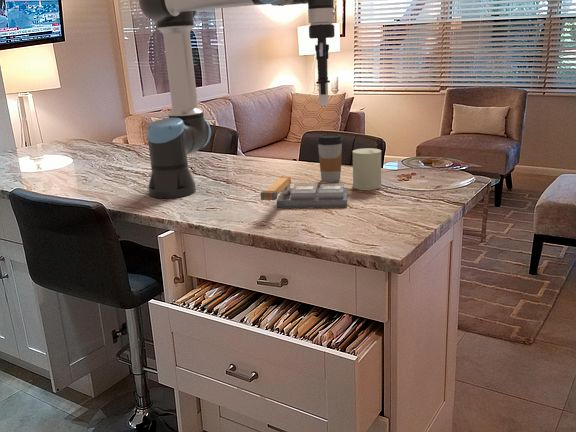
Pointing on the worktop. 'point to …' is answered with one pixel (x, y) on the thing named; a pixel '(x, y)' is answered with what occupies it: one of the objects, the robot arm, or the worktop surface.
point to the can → (367, 169)
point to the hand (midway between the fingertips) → (323, 105)
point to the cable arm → (276, 188)
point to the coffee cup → (330, 157)
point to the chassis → (313, 196)
